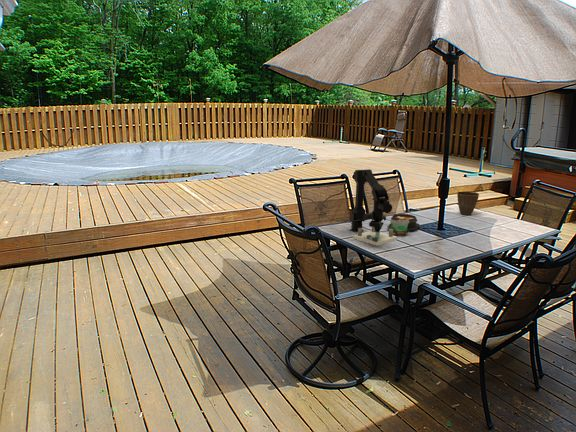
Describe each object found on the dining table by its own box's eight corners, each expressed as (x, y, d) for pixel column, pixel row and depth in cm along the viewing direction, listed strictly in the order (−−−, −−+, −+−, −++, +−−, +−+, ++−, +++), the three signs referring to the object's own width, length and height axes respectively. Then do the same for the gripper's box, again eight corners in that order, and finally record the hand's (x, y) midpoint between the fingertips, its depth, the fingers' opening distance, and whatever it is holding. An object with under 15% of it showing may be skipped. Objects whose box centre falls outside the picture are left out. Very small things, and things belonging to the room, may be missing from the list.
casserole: (404, 235, 269) (405, 222, 267) (380, 229, 282) (380, 216, 280) (426, 228, 284) (427, 215, 282) (402, 222, 298) (403, 210, 296)
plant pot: (480, 216, 314) (483, 195, 310) (461, 217, 312) (464, 195, 308) (469, 211, 329) (472, 191, 325) (451, 212, 327) (453, 191, 323)
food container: (394, 237, 264) (395, 221, 262) (389, 234, 270) (390, 219, 267) (412, 235, 267) (413, 220, 265) (407, 233, 273) (408, 217, 271)
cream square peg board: (353, 238, 262) (353, 228, 260) (372, 233, 273) (373, 223, 271) (377, 245, 248) (378, 235, 246) (396, 239, 259) (397, 229, 258)
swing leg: (365, 237, 256) (365, 229, 254) (368, 236, 257) (368, 228, 256) (377, 241, 250) (378, 232, 248) (380, 240, 251) (380, 231, 250)
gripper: (368, 204, 261) (367, 229, 265) (360, 211, 244) (359, 237, 248) (387, 206, 257) (385, 231, 261) (380, 213, 240) (378, 240, 244)
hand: (377, 234), depth 254 cm, fingers closed
